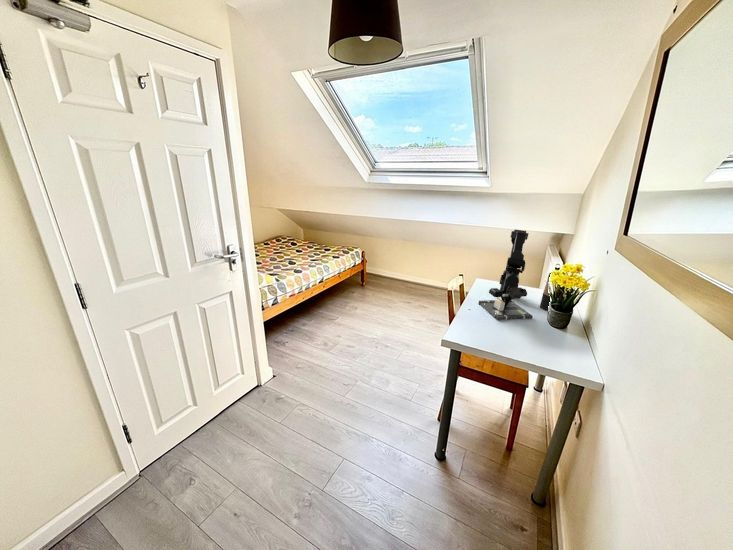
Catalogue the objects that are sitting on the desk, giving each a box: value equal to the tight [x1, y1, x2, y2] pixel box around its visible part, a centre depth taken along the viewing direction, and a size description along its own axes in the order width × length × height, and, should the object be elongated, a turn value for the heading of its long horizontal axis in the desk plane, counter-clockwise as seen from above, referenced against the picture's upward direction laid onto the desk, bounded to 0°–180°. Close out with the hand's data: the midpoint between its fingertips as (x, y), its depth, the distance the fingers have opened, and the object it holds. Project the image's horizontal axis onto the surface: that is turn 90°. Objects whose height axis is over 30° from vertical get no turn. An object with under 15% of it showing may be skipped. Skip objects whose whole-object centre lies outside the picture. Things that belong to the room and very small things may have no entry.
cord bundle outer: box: [494, 313, 534, 321], centre depth 152 cm, size 2×20×2 cm, turn 100°
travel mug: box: [539, 272, 552, 312], centre depth 162 cm, size 8×8×20 cm
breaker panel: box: [479, 301, 531, 319], centre depth 159 cm, size 14×20×2 cm
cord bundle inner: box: [477, 299, 514, 306], centre depth 167 cm, size 2×20×2 cm, turn 99°
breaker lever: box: [494, 297, 505, 311], centre depth 157 cm, size 5×2×5 cm, turn 10°
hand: (504, 306), depth 158 cm, fingers closed
